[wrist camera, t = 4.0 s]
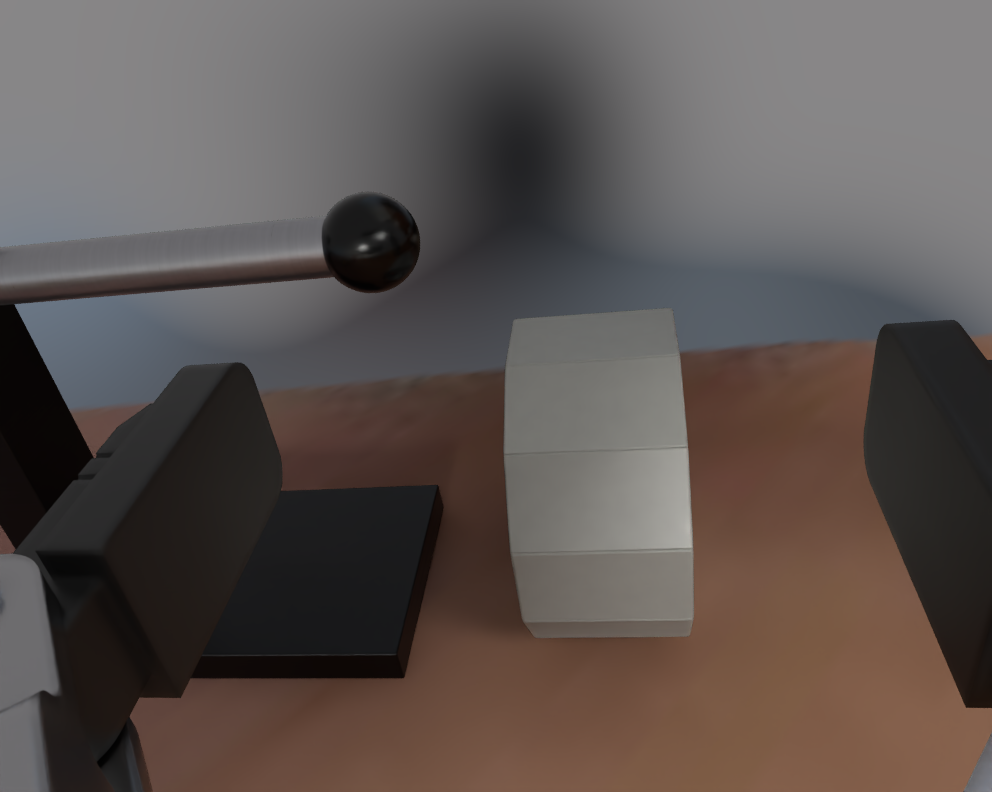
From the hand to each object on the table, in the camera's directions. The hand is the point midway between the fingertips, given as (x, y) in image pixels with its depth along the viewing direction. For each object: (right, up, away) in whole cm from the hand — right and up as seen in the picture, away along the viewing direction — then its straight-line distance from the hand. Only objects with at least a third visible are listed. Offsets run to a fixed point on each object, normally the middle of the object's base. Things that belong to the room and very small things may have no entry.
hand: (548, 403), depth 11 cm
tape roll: (+3, -6, +17) cm, 19 cm away
